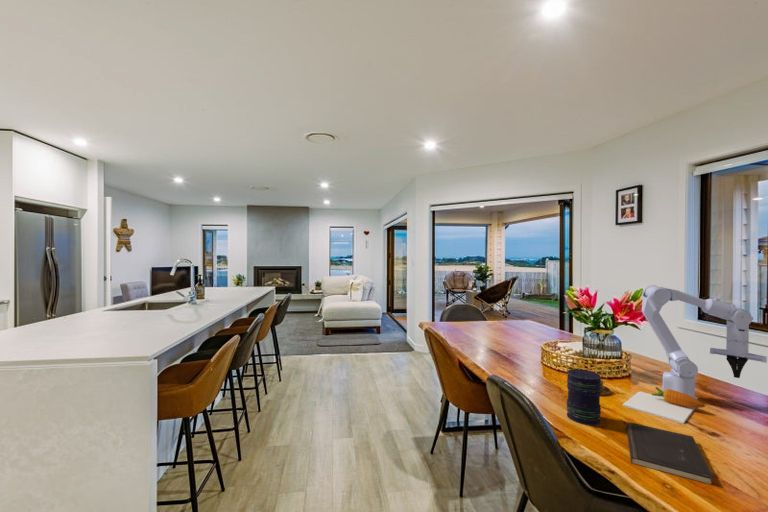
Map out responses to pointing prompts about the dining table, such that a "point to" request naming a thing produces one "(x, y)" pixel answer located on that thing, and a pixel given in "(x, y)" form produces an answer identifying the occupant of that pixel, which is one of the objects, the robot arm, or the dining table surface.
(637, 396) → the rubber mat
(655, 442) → the hardcover book
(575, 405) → the storage jar
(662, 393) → the carrot
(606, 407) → the dining table surface
